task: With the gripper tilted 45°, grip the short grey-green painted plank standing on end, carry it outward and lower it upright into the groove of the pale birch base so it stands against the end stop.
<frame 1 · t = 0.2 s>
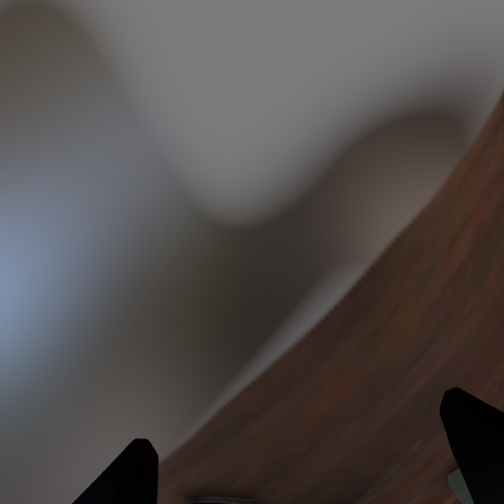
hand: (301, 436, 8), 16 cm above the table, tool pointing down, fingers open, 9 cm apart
plank: (461, 471, 25), on the table
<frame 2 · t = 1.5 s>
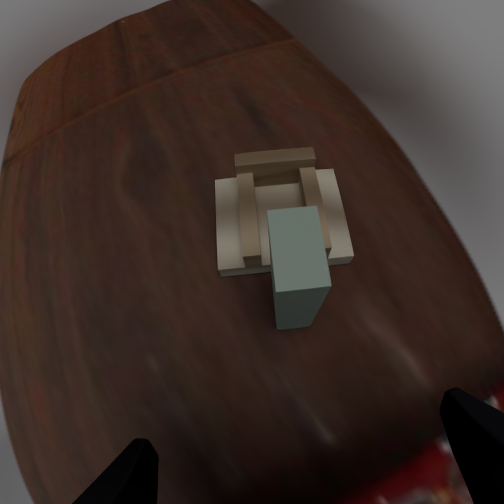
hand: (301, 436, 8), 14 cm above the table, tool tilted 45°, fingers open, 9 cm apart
plank: (290, 301, 23), on the table
groove base: (280, 223, 26), on the table
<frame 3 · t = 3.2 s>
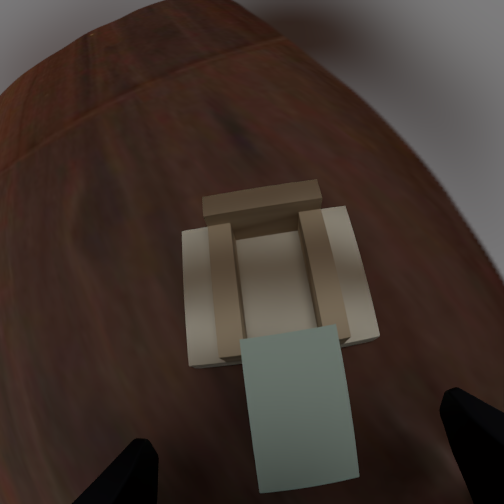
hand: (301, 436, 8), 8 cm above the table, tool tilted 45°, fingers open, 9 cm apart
plank: (292, 401, 16), on the table
groove base: (275, 289, 19), on the table
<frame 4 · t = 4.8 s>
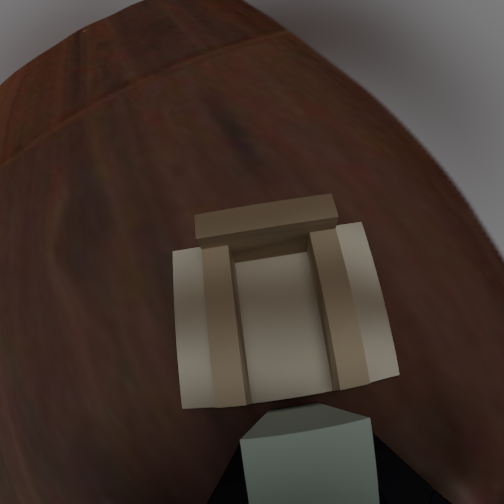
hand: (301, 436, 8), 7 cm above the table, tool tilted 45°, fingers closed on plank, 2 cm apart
plank: (298, 444, 13), on the table, touching gripper
groove base: (280, 319, 16), on the table
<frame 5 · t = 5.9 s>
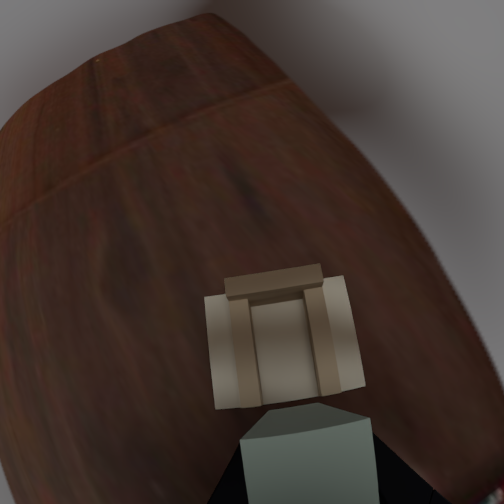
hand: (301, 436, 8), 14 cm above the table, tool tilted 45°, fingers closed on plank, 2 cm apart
plank: (298, 444, 13), point 7 cm above the table, touching gripper
groove base: (282, 345, 22), on the table
when the fingers open (9 cm above the table, at t = 7.5 s): plank drops 1 cm, resting on groove base.
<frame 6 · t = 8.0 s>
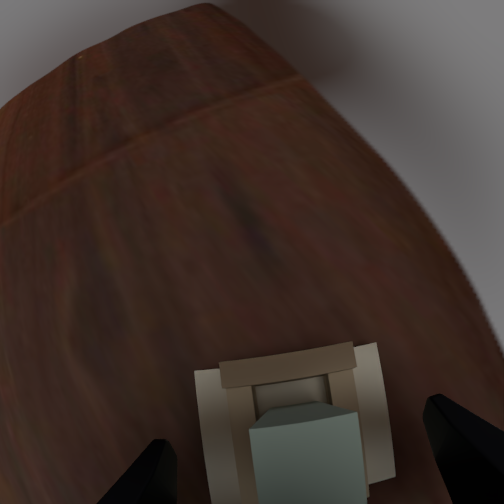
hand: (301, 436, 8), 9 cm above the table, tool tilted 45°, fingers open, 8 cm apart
plank: (298, 439, 14), point 1 cm above the table, touching groove base
groove base: (295, 428, 16), on the table
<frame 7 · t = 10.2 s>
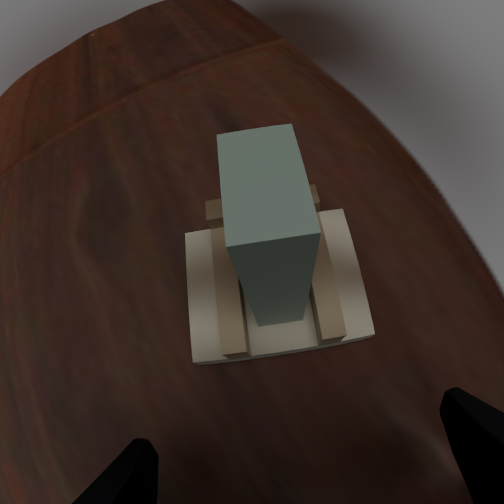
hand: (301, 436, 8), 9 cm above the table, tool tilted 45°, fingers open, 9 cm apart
plank: (275, 288, 18), point 1 cm above the table, touching groove base
groove base: (275, 289, 19), on the table
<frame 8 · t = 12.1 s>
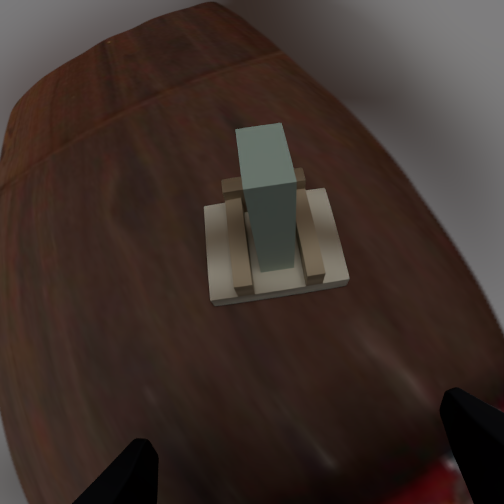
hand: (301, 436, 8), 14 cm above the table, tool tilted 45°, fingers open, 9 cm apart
plank: (273, 245, 24), point 1 cm above the table, touching groove base
groove base: (273, 248, 25), on the table
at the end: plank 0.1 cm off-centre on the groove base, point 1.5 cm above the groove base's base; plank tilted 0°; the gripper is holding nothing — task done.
